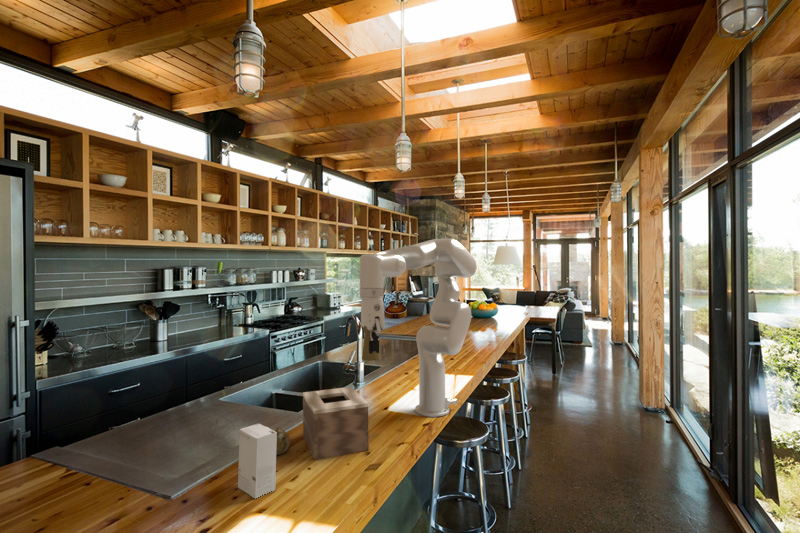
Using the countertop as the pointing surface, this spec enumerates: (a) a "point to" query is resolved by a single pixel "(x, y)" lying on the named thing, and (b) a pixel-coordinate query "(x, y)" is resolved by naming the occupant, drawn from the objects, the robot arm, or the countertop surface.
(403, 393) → the countertop surface
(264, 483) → the skincare box
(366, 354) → the brown rounded upright piece
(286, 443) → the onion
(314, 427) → the drop box
